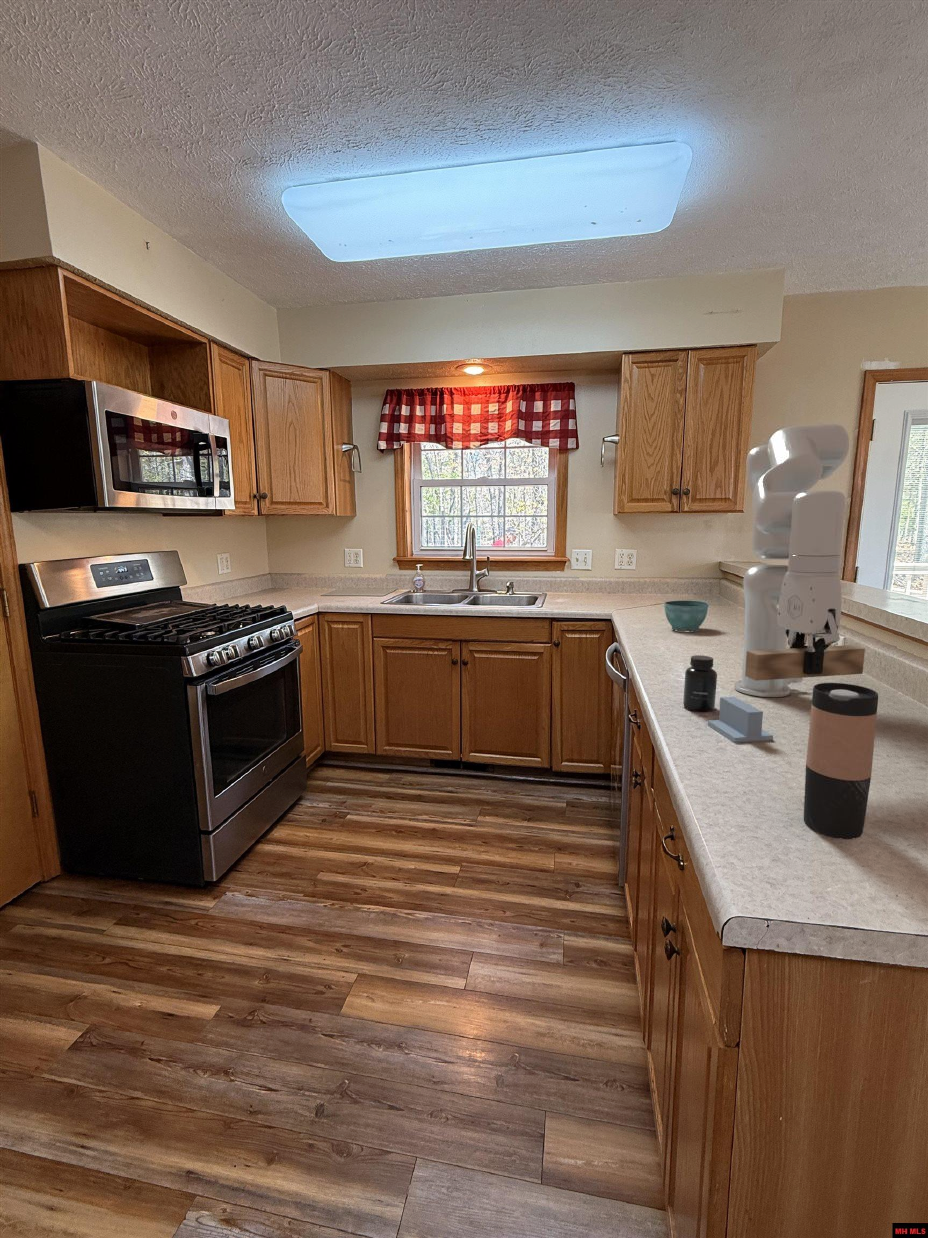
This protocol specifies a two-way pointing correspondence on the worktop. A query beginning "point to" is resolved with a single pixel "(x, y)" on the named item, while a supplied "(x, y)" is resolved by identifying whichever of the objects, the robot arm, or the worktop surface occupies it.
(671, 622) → the teal bowl
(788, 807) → the worktop surface
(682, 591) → the worktop surface
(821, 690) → the travel mug
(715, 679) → the supplement bottle
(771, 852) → the worktop surface
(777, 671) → the walnut bar
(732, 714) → the fulcrum
